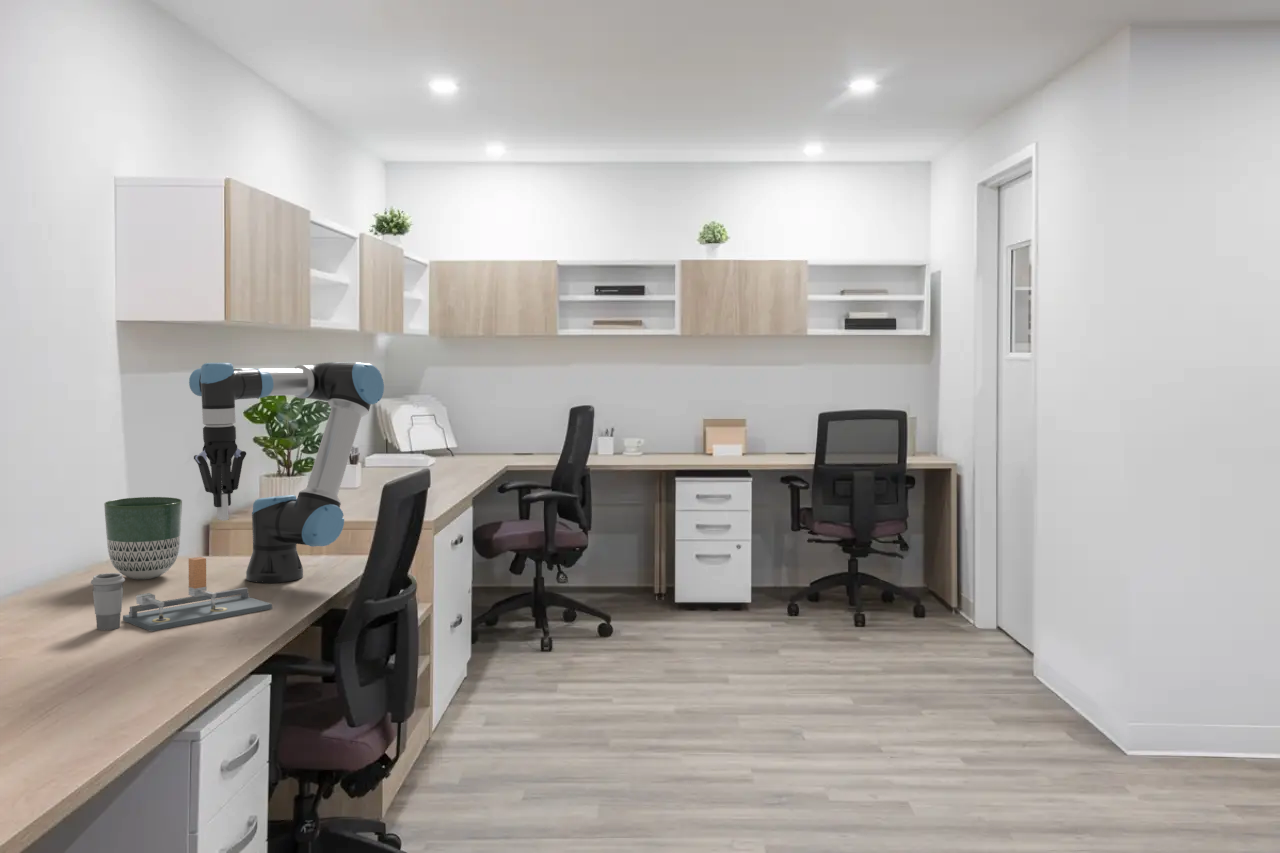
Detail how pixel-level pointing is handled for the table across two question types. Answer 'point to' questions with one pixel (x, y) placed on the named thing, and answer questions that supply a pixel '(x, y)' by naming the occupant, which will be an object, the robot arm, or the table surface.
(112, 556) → the planter
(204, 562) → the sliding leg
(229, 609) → the gauge board
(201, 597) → the rail
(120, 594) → the cup
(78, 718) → the table surface
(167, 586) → the table surface
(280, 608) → the table surface
